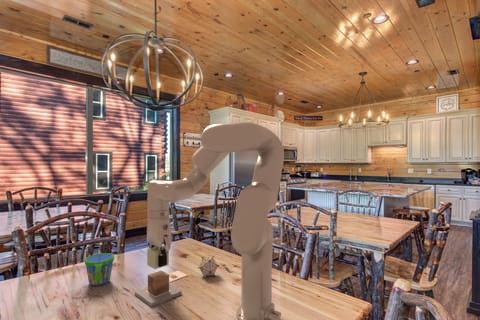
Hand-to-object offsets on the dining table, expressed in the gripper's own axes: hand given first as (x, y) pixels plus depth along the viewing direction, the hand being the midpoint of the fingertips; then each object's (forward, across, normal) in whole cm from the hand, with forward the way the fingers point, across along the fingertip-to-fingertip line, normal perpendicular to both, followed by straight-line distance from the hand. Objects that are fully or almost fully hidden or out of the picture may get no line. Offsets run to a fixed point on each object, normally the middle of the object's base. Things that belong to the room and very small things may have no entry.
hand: (158, 262), depth 100 cm
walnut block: (+10, 0, 0) cm, 10 cm away
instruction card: (+12, +9, -12) cm, 19 cm away
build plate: (+12, 0, 0) cm, 12 cm away
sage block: (+1, 0, 0) cm, 1 cm away
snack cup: (+12, +26, +11) cm, 30 cm away
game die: (+12, -1, -23) cm, 26 cm away
